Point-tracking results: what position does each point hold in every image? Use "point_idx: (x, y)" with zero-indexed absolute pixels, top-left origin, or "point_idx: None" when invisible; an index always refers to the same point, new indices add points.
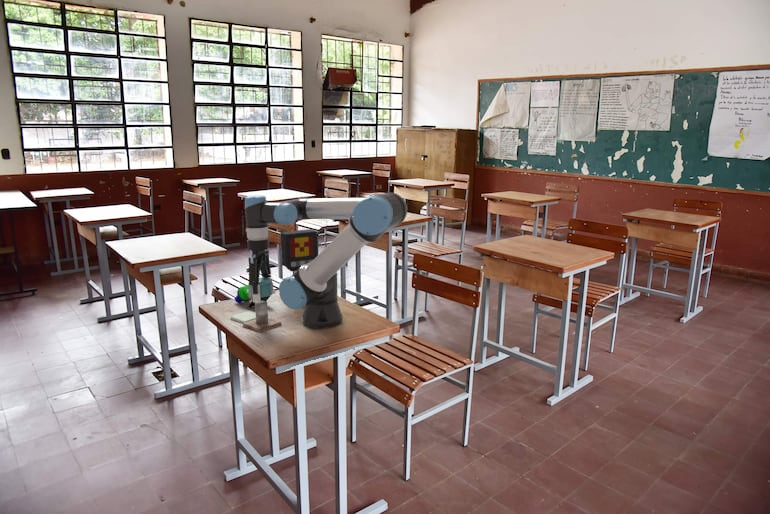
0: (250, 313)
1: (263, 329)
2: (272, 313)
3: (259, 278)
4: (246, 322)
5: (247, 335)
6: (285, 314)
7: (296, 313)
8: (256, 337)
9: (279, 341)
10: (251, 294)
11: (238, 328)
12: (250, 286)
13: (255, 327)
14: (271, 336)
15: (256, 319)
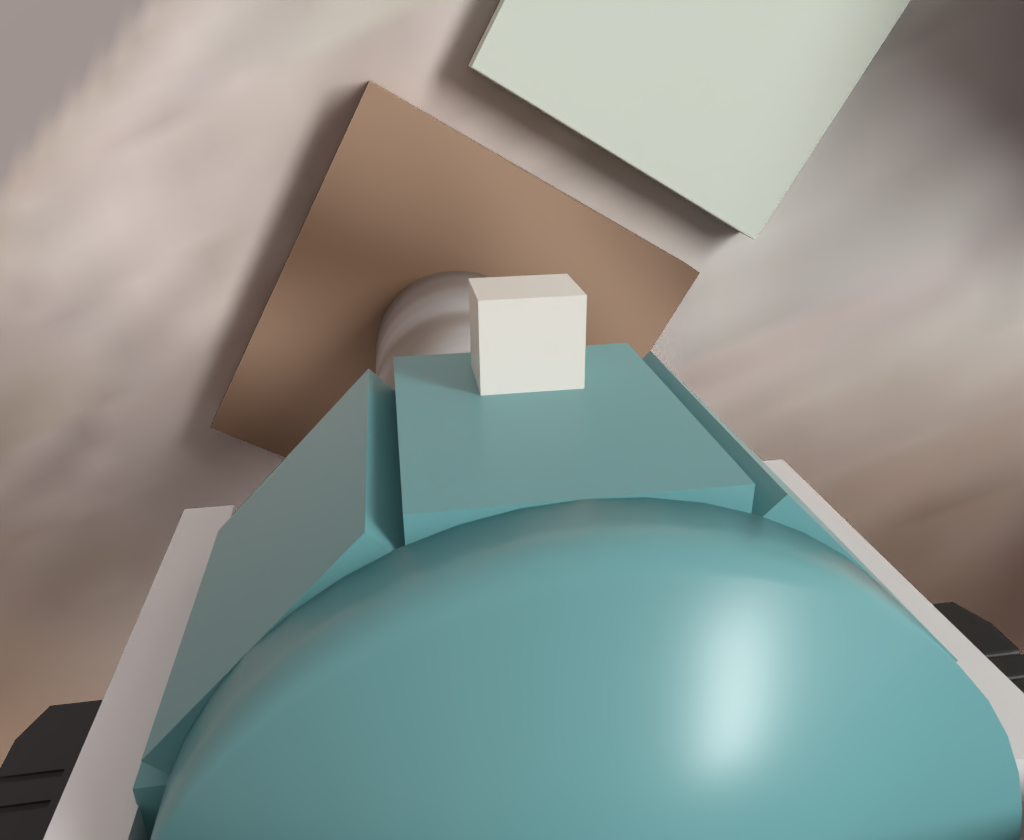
0: (826, 2)
1: (267, 439)
2: (900, 278)
3: (901, 804)
4: (412, 126)
5: (60, 300)
6: (859, 441)
7: (887, 536)
8: (43, 436)
9: (38, 698)
10: (233, 538)
11: (268, 46)
12: (213, 677)
13: (253, 344)
14: (141, 575)
15: (395, 318)
